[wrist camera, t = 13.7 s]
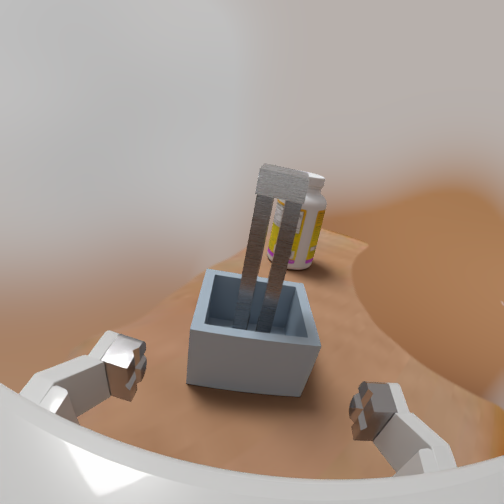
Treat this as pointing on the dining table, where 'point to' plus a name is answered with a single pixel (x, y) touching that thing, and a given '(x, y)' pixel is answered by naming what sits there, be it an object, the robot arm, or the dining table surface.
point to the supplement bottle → (302, 225)
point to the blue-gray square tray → (251, 340)
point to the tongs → (268, 187)
